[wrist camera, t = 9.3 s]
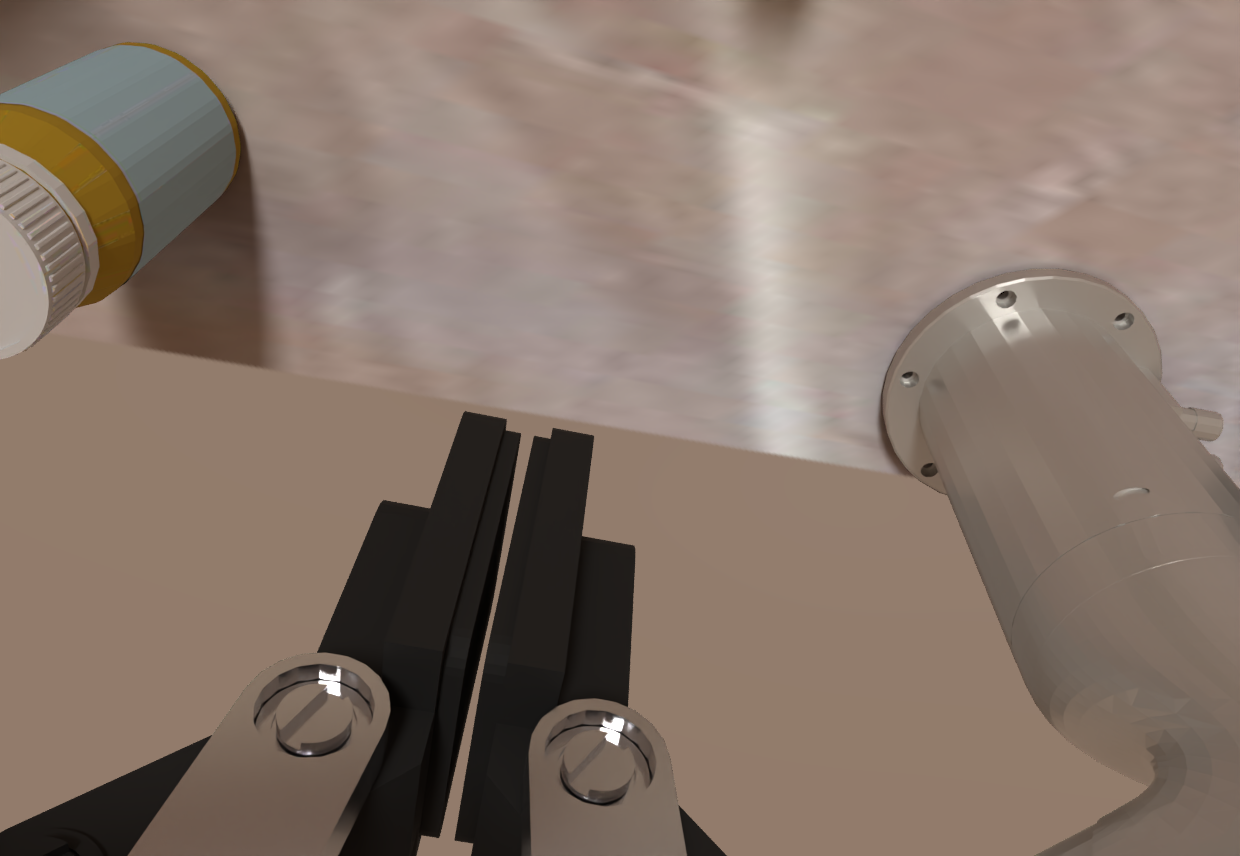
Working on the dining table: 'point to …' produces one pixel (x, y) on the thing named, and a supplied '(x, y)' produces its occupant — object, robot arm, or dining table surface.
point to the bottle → (102, 178)
